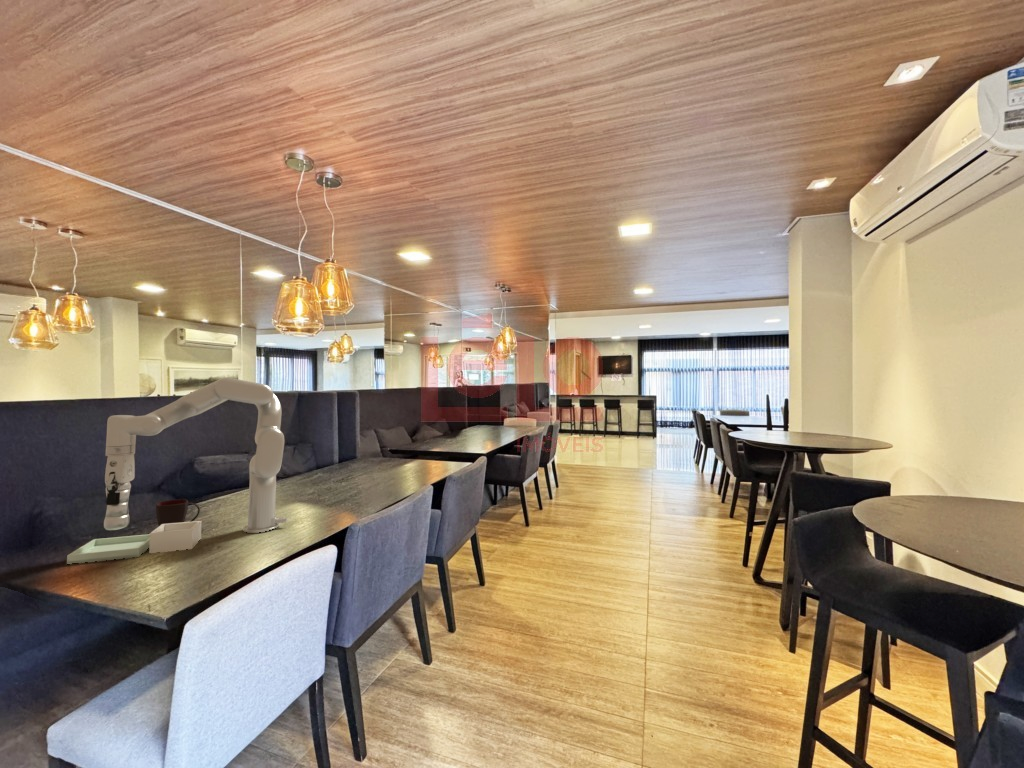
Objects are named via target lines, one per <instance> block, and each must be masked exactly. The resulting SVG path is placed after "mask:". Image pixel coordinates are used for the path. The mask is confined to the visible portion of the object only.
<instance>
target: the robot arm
mask: <svg viewBox="0 0 1024 768" xmlns="http://www.w3.org/2000/svg"><path fill="white" fill-rule="evenodd" d="M228 400H229V401H234V402H238V403H240V402H241V403H246V404H253V405H255V407H256V408H257V411H258V413H257V414H258V415H257V423H256V430H255V433H254V441H255V444H256V451H255V454H254V455H253V456H252V457H251V459H250V460H249V461H250V462H249V464H248V465H249V467H248V472H249V473H248V474H249V488H248V489H249V490H248V491H249V492H248V511H247V513H248V514H247V525H244V526H243V528H242V531H243V532H244V533H246V532H247V534H258V533H259V532H261V533H265V531H267V532H270V531H269V530H271V531H273V530H272V529H274V530H276V529H278V528H277V527H279V524H283V523H284V524H285V523H287V519H288V517H284V516H283V517H279V516H278V517H277V514H276V495H277V491H276V490H277V474H278V473H279V472H280V470H281V467H282V463H283V456H284V448H285V435H284V433H283V431H281V425H282V411H283V410H282V405H281V402H280V400H279V398H278V396H277V395H276V394H275V393H274V391H273V389H272V388H271V387H270V386H269V385H268V384H264V383H261V382H253V381H248V380H243V379H238V378H234V377H222V378H220V379H217V380H214V381H212V382H211V383H209V384H207V385H203V387H200V388H198V389H195V390H193V391H192V392H190V393H189V392H188V393H187V394H185V395H183V396H181V397H180V398H178V399H177V400H176V399H175V401H172V402H170V403H169V404H167V405H165V406H163V407H160V408H158V409H155V410H154V411H152V412H149V413H147V414H144V415H137V416H136V415H133V414H131V415H130V414H129V415H127V414H117V415H110V416H109V417H108V418H107V421H106V422H107V424H106V441H105V457H107V458H106V465H105V475H104V483H105V488H106V487H107V496H106V506H107V505H118V504H119V503H120V492H119V488H120V484H125V483H127V482H130V483H131V482H132V481H133V480H134V479H135V476H136V474H135V473H136V471H135V470H136V468H135V467H136V466H135V465H136V464H135V462H136V461H135V454H136V445H137V444H136V442H137V436H147V437H152V436H156V435H158V434H160V433H161V432H162V431H163V430H164V429H167V428H169V427H171V426H173V425H174V424H177V423H179V422H182V421H183V420H186V419H188V418H191V417H195V416H198V415H201V414H203V413H204V412H207V411H208V410H210V409H212V408H214V407H216V406H219V405H220V404H222V403H225V402H227V401H228ZM113 482H118V483H116V484H113ZM115 486H116V488H115ZM118 492H119V493H118ZM275 528H276V529H275ZM259 534H260V533H259Z"/></svg>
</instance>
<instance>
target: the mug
mask: <svg viewBox="0 0 1024 768" xmlns="http://www.w3.org/2000/svg"><path fill="white" fill-rule="evenodd" d="M189 505H190V506H191V505H193V506H195V507H196V508H197V514H196V515H195V516H194V517H193V518H192V519H191V520H189V522H193V521H196V519H197V518H198V516H199V515H200V512H201V509H200V506H199V505H198V504H196V503H194V502H189V500H188V499H186V498H179V499H169V500H162V501H159V502H157V503H156V504H155V514H156V519H157V525H158V527H159V526H160V525H162V524H169V523H181V522H186V517H187V512H188V507H189Z"/></svg>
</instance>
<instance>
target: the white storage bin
mask: <svg viewBox="0 0 1024 768" xmlns="http://www.w3.org/2000/svg"><path fill="white" fill-rule="evenodd" d="M149 534H150V546H149V549H148V550H149V551H148V554H149V553H151V554H157V553H156V552H160V553H167V552H166V551H169V552H176V550H179V551H187V550H186V549H188V550H192V549H193V548H194V547H195V546H196V545H197V544H198V543H199V542H200V541H201V540H202V520H194V521H192V522H190V521H184V522H181V523H169V524H162V525H160V526H158V527H156V528H155V529H153V530H151V532H150V533H149ZM200 539H201V540H200ZM199 540H200V541H199ZM198 541H199V542H198Z"/></svg>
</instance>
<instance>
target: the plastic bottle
mask: <svg viewBox="0 0 1024 768" xmlns="http://www.w3.org/2000/svg"><path fill="white" fill-rule="evenodd" d="M116 483H118V482H113V484H116ZM115 488H116V486H115ZM131 488H132V484H131V481H130V482H127V483H125V484H120V488H119V492H120V503H119V504H118V505H107V504H106V511H105V517H104V520H103V528H104V529H105V530H106V531H117V530H121V529H124V528H127V527H128V526H129V524H130V520H131V518H130V514H129V499H130V498H129V497H130V492H131ZM119 492H118V493H119ZM105 494H106V495H105V496H106V497H107V487H106V486H105Z"/></svg>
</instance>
